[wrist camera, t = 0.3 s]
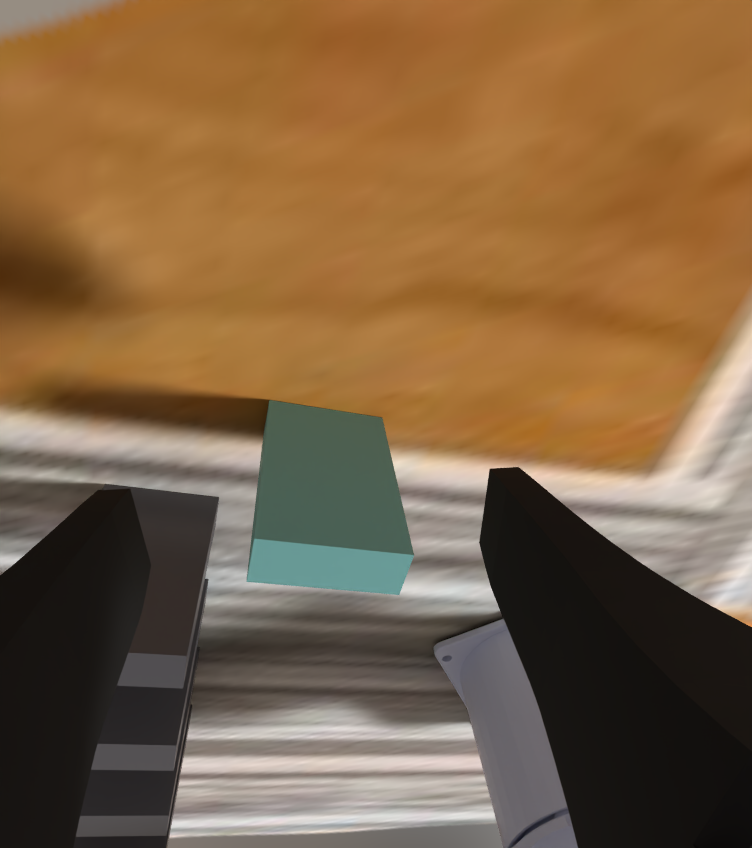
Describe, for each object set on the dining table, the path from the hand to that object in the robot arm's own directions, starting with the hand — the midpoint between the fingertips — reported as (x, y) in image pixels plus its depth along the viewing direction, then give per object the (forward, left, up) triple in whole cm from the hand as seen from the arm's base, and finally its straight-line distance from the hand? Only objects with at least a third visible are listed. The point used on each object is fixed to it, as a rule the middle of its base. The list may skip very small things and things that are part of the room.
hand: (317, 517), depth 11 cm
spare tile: (-4, +1, -10) cm, 11 cm away
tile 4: (-4, +9, -10) cm, 14 cm away
